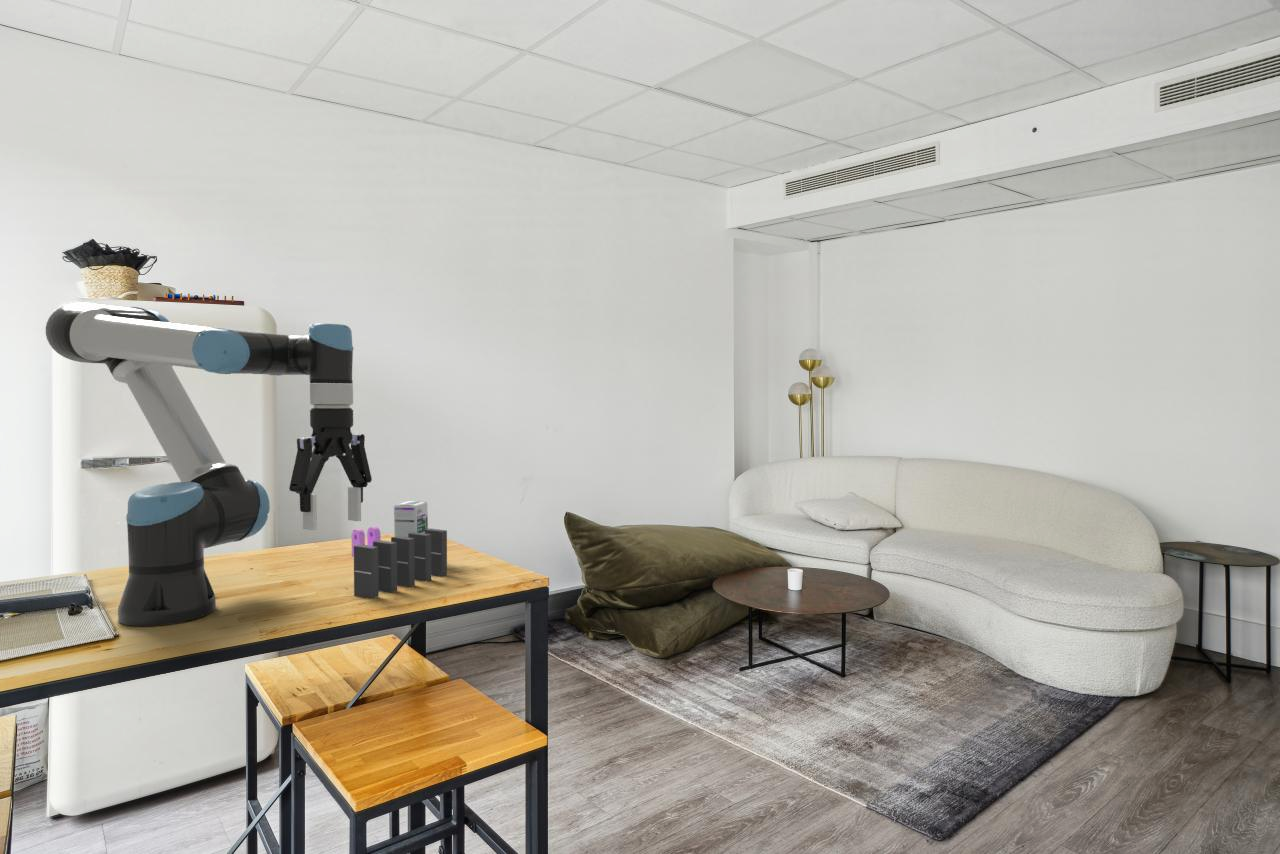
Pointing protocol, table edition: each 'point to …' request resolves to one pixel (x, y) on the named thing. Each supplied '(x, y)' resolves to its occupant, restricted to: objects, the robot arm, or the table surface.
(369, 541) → the bracket
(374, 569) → the domino
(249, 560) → the table surface
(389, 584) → the domino
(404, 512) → the syrup box
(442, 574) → the domino
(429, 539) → the domino
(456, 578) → the table surface
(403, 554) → the domino
